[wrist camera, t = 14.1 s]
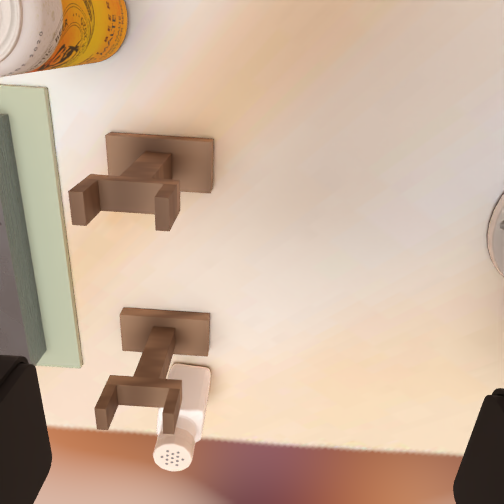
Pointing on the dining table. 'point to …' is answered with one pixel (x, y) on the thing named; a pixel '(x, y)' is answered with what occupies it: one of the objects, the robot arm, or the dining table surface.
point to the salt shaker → (184, 418)
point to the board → (44, 220)
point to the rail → (16, 264)
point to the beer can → (58, 33)
